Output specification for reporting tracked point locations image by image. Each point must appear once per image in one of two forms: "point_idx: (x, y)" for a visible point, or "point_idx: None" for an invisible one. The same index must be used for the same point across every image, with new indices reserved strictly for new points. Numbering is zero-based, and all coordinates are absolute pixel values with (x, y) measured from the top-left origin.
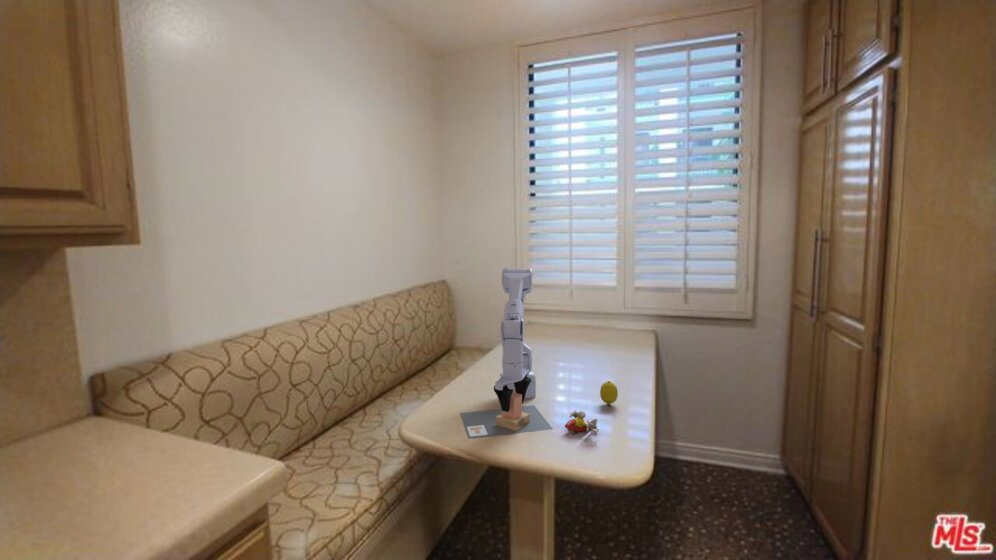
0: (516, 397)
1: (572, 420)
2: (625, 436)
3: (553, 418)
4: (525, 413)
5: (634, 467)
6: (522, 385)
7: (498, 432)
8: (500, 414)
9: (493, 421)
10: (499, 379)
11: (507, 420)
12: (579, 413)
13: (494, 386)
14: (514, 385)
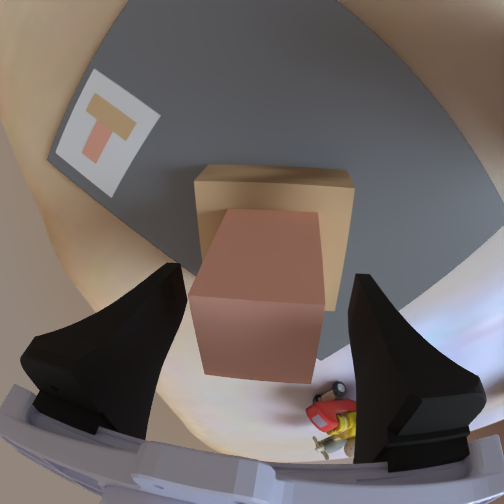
0: (237, 377)
1: (330, 428)
2: None
3: (426, 318)
4: (330, 294)
5: (259, 457)
6: (363, 421)
7: (155, 221)
8: (234, 186)
9: (230, 128)
10: (36, 454)
11: (202, 256)
12: (348, 451)
13: (28, 362)
14: (388, 350)
